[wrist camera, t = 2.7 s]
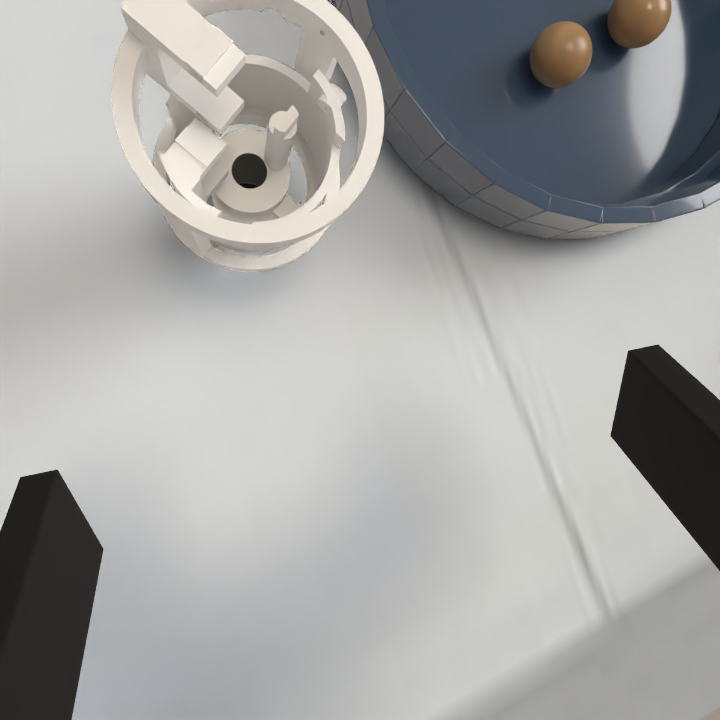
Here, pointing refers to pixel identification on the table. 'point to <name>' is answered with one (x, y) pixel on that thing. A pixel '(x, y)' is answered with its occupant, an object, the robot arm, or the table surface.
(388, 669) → the table surface
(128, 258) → the table surface
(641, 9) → the brown egg
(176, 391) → the table surface
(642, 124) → the round tray
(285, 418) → the table surface
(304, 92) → the white cylindrical mechanical housing
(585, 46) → the brown egg
